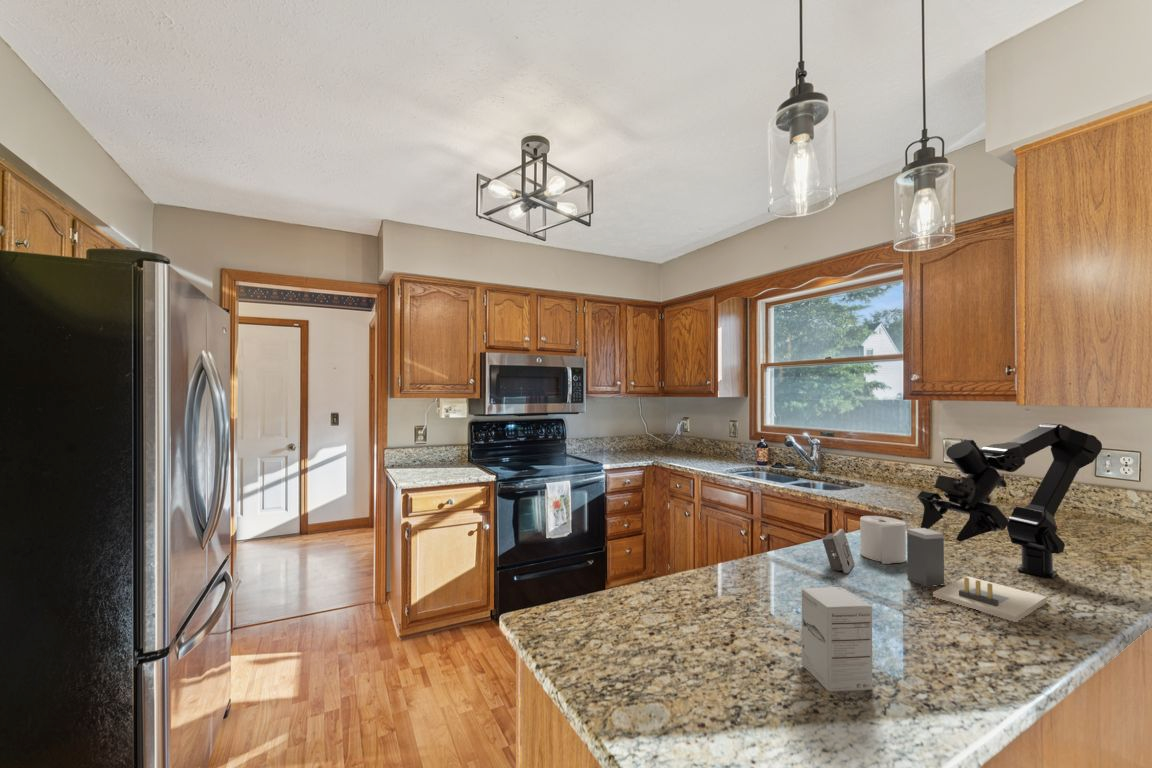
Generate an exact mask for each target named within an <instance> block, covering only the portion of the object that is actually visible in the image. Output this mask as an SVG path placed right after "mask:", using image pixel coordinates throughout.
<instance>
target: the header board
mask: <svg viewBox="0 0 1152 768" xmlns="http://www.w3.org/2000/svg"><path fill="white" fill-rule="evenodd" d="M932 594H933V595H932V598H933V597H936V598H935V599H937V598H939V599H938V600H940V599H942V600H941V601H943V600H946V601H950V602H953V603H956V604H959V605H958V606H960V605H962V606H961V607H963V606H966V607H969V608H973V609H976V610H979V611H982V612H981V613H983V612H985V613H984V614H986V613H988V614H987V615H989V614H991V615H990V616H992V615H994V616H993V617H996V616H997V617H996V618H999V617H1000V618H999V619H1002V618H1003V620H1006V619H1007V620H1006V621H1009V622H1012V621H1013V623H1015V622H1017V623H1019V622H1020V621H1021V620H1023V619H1024V618H1025V616H1026V617H1027V616H1028V615H1030V614H1031V613H1033V612H1035V611H1036V610H1038V609H1039V608H1041V607H1042V606H1044V605H1046V604H1047V601H1048V597H1047V596H1045V595H1041V594H1038V593H1034V592H1029V591H1025V590H1022V589H1018V588H1014V587H1011V586H1007V585H1002V584H999V583H996V582H991V581H987V580H983V579H979V578H975V577H971V576H968V575H967V576H965V577H963V578H961V579H959V580H956V581H954V582H952V583H950V584H948V585H946V586H945V585H944V586H942V587H941V588H939V589H936V590H934V591H933V592H932ZM946 601H945V602H946ZM950 602H949V603H950ZM953 603H952V604H953ZM956 604H955V605H956ZM966 607H965V608H966ZM969 608H968V609H969ZM1037 608H1038V609H1037ZM973 609H972V610H973ZM976 610H975V611H976ZM1034 610H1035V611H1034ZM979 611H978V612H979ZM1022 618H1023V619H1022ZM1019 620H1020V621H1019Z"/></svg>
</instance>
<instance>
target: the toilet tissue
mask: <svg viewBox="0 0 1152 768" xmlns="http://www.w3.org/2000/svg"><path fill="white" fill-rule="evenodd" d="M859 521H860V522H859V523H860V525H859V526H860V527H859V529H860V531H859V534H860V537H859V539H860V541H859V542H860V543H859V546H860V554H861V556H862V557H865V558H867V559H870V560H872V561H876V562H881V564H900V563H905V562H907V526H906V525H907V523H906V522H905V521H903V520H901V519H898V518H894V517H889V516H881V515H863V516H860V519H859Z"/></svg>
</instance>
